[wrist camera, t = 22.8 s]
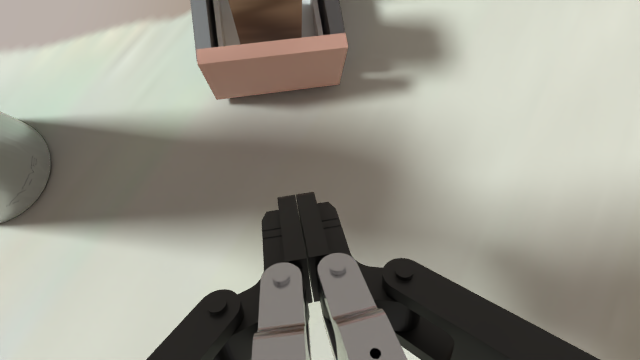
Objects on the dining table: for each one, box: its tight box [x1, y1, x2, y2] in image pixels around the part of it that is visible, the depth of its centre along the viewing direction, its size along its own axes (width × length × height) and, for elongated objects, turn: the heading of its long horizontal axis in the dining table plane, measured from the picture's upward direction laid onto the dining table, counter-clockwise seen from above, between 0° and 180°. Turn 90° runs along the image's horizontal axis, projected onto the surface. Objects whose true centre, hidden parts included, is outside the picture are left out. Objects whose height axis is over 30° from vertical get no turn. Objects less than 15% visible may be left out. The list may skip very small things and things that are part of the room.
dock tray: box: [196, 0, 348, 100], centre depth 30 cm, size 10×11×6 cm
